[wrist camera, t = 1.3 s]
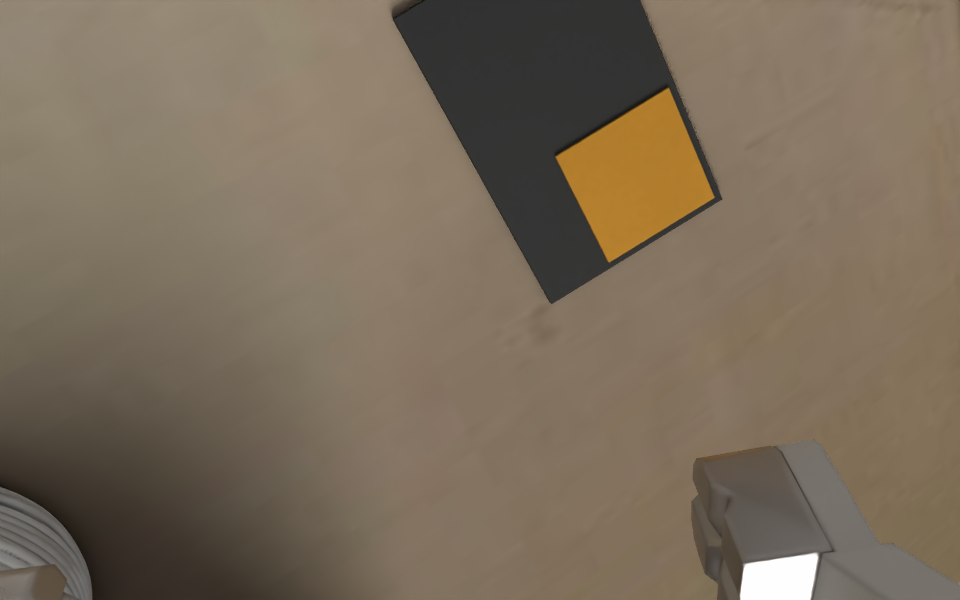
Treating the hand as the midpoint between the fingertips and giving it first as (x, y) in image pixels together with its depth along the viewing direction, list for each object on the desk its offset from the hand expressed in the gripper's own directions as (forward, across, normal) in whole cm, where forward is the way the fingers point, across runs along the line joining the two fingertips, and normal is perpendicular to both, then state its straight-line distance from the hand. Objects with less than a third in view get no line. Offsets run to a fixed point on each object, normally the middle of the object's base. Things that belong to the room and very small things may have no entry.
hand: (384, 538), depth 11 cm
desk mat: (+39, -9, +14) cm, 43 cm away
